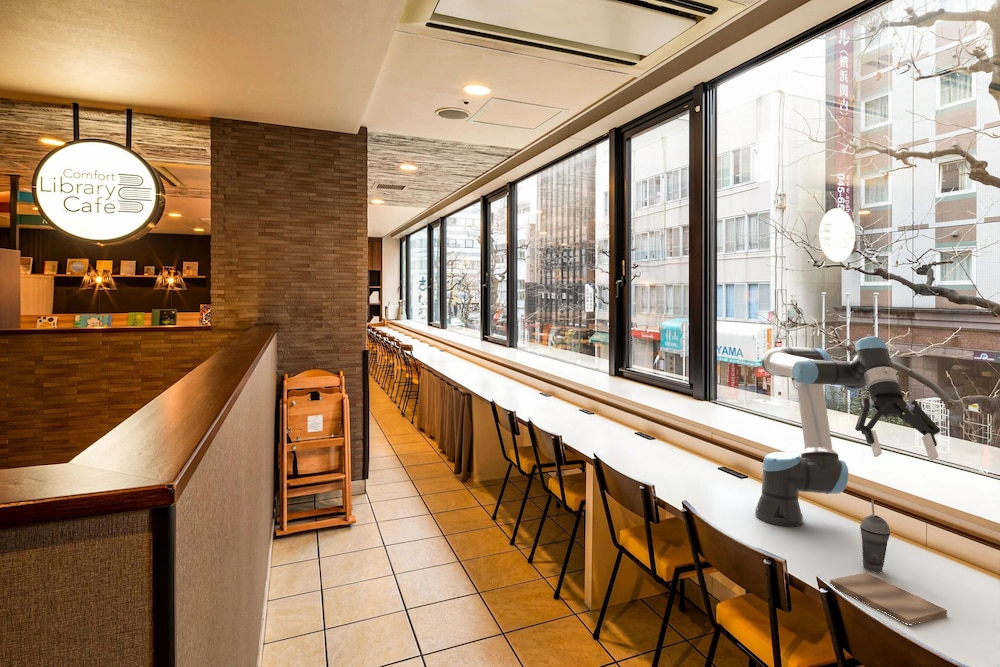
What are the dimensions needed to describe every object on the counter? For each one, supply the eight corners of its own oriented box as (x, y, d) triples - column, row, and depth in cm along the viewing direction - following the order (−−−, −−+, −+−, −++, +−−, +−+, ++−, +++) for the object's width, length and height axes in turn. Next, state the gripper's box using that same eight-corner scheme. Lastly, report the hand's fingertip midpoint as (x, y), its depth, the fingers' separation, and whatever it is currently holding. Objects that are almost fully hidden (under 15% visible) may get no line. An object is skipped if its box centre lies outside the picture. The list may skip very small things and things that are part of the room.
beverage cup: (877, 577, 152) (881, 506, 151) (851, 565, 158) (855, 498, 158) (894, 572, 155) (898, 503, 154) (867, 561, 161) (871, 495, 161)
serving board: (830, 585, 146) (830, 579, 146) (866, 577, 151) (866, 572, 151) (908, 626, 128) (908, 620, 128) (946, 616, 133) (947, 610, 133)
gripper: (842, 377, 154) (861, 448, 142) (938, 381, 151) (966, 454, 139) (831, 390, 160) (849, 458, 148) (923, 394, 157) (949, 464, 145)
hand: (905, 456), depth 144 cm, fingers open, 13 cm apart
